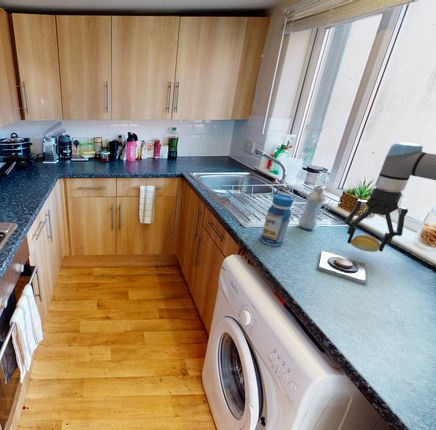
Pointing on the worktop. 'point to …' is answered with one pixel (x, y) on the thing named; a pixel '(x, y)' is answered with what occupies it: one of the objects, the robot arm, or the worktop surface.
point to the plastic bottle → (312, 208)
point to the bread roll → (366, 243)
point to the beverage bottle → (277, 220)
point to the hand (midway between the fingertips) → (364, 245)
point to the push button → (342, 267)
